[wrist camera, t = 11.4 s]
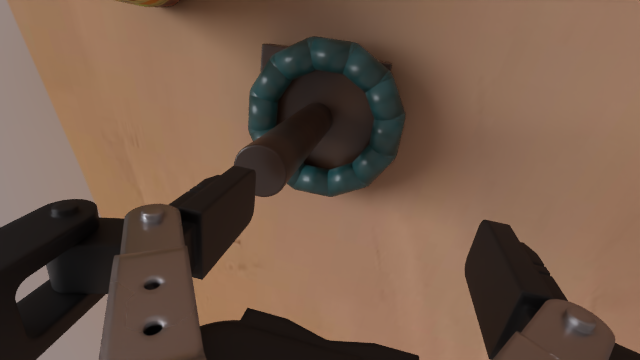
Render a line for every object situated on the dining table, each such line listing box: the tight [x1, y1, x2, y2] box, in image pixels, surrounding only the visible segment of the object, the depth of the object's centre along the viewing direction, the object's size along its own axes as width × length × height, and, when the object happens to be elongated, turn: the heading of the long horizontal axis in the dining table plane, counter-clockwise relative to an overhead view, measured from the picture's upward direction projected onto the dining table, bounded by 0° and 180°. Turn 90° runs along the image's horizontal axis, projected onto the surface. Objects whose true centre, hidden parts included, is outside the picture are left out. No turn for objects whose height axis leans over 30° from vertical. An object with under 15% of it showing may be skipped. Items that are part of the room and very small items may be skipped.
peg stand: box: [234, 44, 392, 197], centre depth 20 cm, size 9×9×12 cm
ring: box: [248, 36, 405, 197], centre depth 23 cm, size 11×11×2 cm
